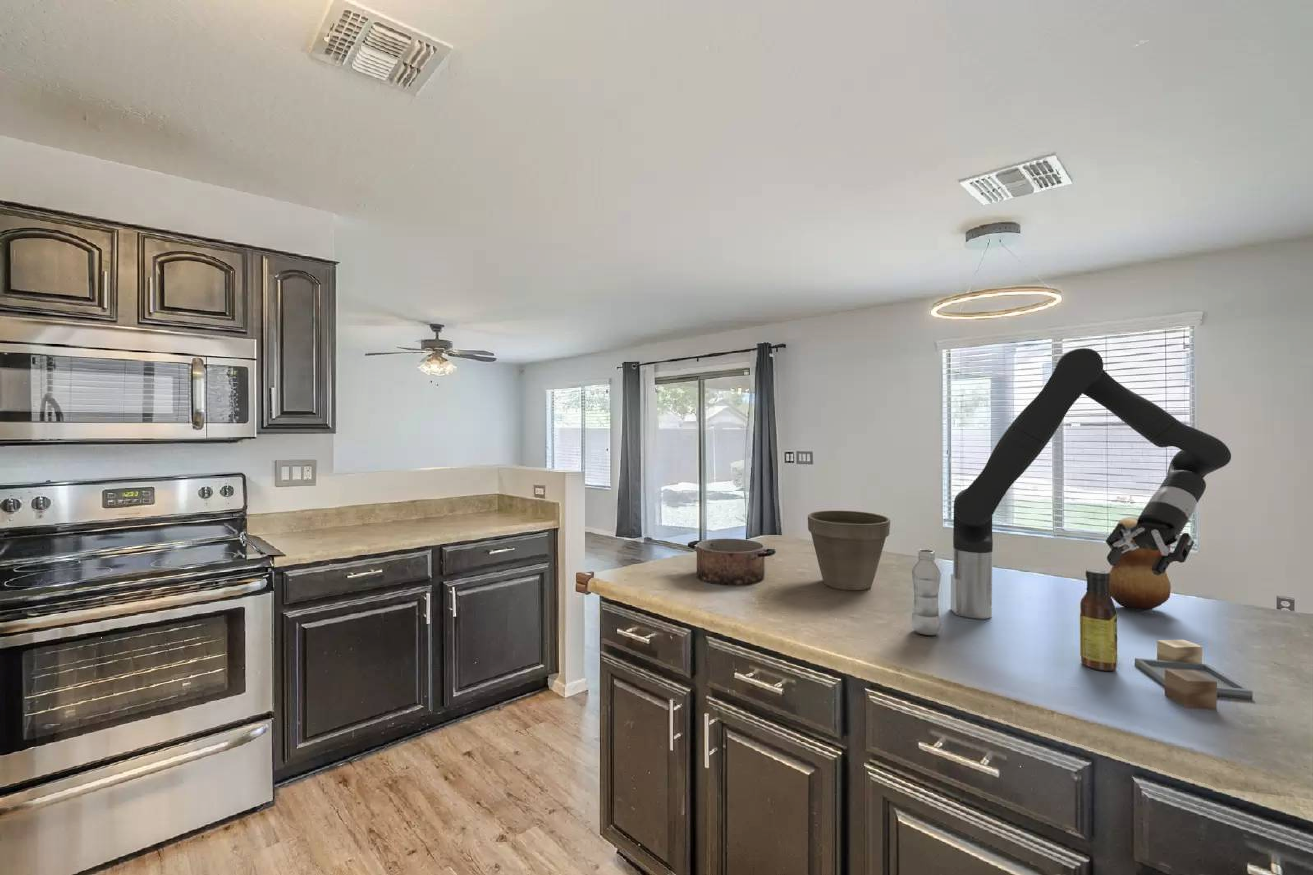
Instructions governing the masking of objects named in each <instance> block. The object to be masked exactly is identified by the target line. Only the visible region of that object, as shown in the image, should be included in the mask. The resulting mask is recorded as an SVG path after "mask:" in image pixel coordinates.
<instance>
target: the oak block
mask: <svg viewBox="0 0 1313 875" xmlns="http://www.w3.org/2000/svg"><path fill="white" fill-rule="evenodd" d="M1156 641H1157V642H1156V643H1157V644H1156V645H1157V646H1156V660H1163V661H1175V662H1187V663H1200V664H1203V646H1202V645H1199V644H1197V643H1194V642H1191V641H1188V640H1186V639H1161V640H1160V639H1157V640H1156Z"/></svg>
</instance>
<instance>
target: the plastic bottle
mask: <svg viewBox="0 0 1313 875" xmlns="http://www.w3.org/2000/svg"><path fill="white" fill-rule="evenodd" d="M917 552H918V554H917V558H918V561H917V562H916V563H915V565H914V566H913V568H912V570H911V576H912V584H913V594H914V595H913V597H914V598H913V608H912V610H913V612H912V615H911V621H910V622H911V628H912V629H913V631H914V632H915V633H917V634H920V635H924V636H925V635H926V636H934V635H935V636H936V635H938V633H939V632H940V629H941V618H940V615H939V612H940V611H939V591H940V590H939V589H940V584H941V578H942V577H941V575H942V574H941V570H940V569H939V566H937V564H936V563H935V560H936V555H935V551H934V550H930V549H918V551H917Z"/></svg>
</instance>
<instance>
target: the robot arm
mask: <svg viewBox="0 0 1313 875" xmlns="http://www.w3.org/2000/svg"><path fill="white" fill-rule="evenodd" d="M1083 395H1084V396H1087V397H1088V398H1090V399H1091V400H1093V401H1095V402H1096V403H1097V404H1099V405H1101V406H1103V407H1104V408H1105V409H1106V410H1107V411H1109V412H1111V413H1112V414H1113V415H1115V417H1117V418H1118V419H1120V420H1121V421H1123V422H1124V424H1126V425H1127V426H1129V427H1130V428H1131V429H1132V430H1134V431H1135V432H1137V433H1138V434H1139V435H1140V436H1141V437H1143V438H1144V439H1146V440H1147V441H1148V442H1149V443H1151V444H1153V445H1155V446H1156V447H1158V448H1170V447H1174V448H1177V449H1179V451H1177V453H1176V454H1175V455H1174V456H1173V458H1172V459H1171V461H1170V463H1169V466H1168V469H1167V475H1166V477H1165V478H1164V480H1163V481H1162V483H1161V484H1160V486H1159V488H1158V489H1157V490H1156V491H1155V492H1154V493H1153V494H1152V496H1151V497H1150V498H1149V500H1148V502H1147V503H1146V505H1145V507H1144V508H1143V510H1142V511H1141V513H1140V515H1139V516H1138V517H1139V518H1138V521H1137V524H1136V525H1135V526H1134V527H1132V528H1130V527H1125V526H1124V525H1123V524H1122V523H1120V524H1118V523H1117V524H1118V525H1117V524H1116V525H1115V528H1114V529H1113V530H1112V532H1111V533H1110V534H1109V535H1108V537H1107V539H1106V540H1105V543H1106V544H1107V546H1108V547H1109V548H1110V551H1109V552H1108V554H1107V556H1106V560H1107V562H1108V563H1109V565H1110V566H1112V567H1113V566H1116V565H1117V563H1118V561H1119V560H1120V558H1121V557H1122V555H1123V554H1122V553H1124V552H1126V551H1128V550H1135V549H1137V548H1139V547H1140V548H1142V549H1150V550H1154V551H1156V550H1160V552H1161V554H1162V556H1158V558H1157V560H1156V561H1155V563H1154V564H1153V566H1152V568H1151V570H1152V572H1153V573H1154V574H1155V575H1160V574H1161V573H1162V574H1163V573H1164V572H1165V571H1166V570H1167V569H1168V567H1169V565H1170V564H1171V563H1174V562H1178V563H1181V564H1182V563H1185V562H1186V560H1187V558H1188V556H1189V554H1190V552H1191V550H1192V548H1193V546H1194V544H1195V541H1194V540H1193V537H1192V536H1191V535H1190V533H1188V532H1184V533H1182V531H1183V530H1184V528H1185V527H1186V525H1187V523H1188V522H1189V521H1190V519H1191V518H1192V516H1193V514H1194V511H1195V509H1196V507H1197V504H1198V503H1199V501H1200V499H1201V498H1202V496H1203V495H1204V493H1205V492H1206V491H1205V490H1206V488H1207V483H1206V480H1205V479H1204V478H1205V477H1206V475H1209V474H1211V473H1213V472H1215V471H1216V470H1219V469H1222V468H1223V467H1226V466H1227V465H1228V464H1229V463H1230V461H1232V460H1231V459H1232V453H1231V451H1230V449H1229V447H1228V446H1227V445H1226V444H1225V443H1224V442H1223V441H1222V440H1220V439H1219V438H1218V437H1215V436H1213V435H1211V434H1209V433H1206V432H1204V431H1202V430H1199V429H1197V428H1194V427H1192V426H1189V425H1186V424H1184V423H1182V422H1181V421H1180V420H1179V419H1177V418H1175V417H1174V416H1173V415H1172V414H1170V413H1169V412H1168V411H1166V410H1165V409H1163V408H1161V407H1160V406H1159V405H1157V404H1156V403H1153V402H1152V401H1151V400H1148V399H1147V398H1145V397H1143V396H1141V395H1139V394H1138V393H1135V392H1133V391H1132V390H1130V389H1128V388H1127V387H1125V386H1124V385H1122V384H1121V383H1119V382H1118V381H1117V380H1116V379H1114V378H1113V377H1112V376H1111V375H1110V374H1109V373H1107V371H1106V370H1104V360H1103V358H1102V356H1101V355H1100V353H1098V352H1097V351H1096V350H1094V349H1092V348H1089V347H1078V348H1073V349H1070V350H1069V351H1066V352H1065V353H1064V354H1063V355H1062V356H1061V357H1060V359H1058V361H1057V363H1056V365H1055V368H1054V371H1053V372H1052V374H1051V375H1050V376H1049V379H1048V380H1047V381H1046V383H1045V385H1044V386H1043V387H1042V389H1041V391H1039V393H1038V394H1037V395H1036V397H1035V398H1034V399H1032V401H1030V402H1029V404H1028V405H1026V407H1025V408H1024V409H1023V410H1022V411H1021V412H1020V413H1019V415H1017V417H1016V418H1015V419H1014V420H1013V421H1012V422H1011V423H1010V425H1009V427H1008V428H1007V429H1006V430H1005V431H1004V433H1003V434H1002V435H1001V437H1000V438H999V440H998V442H997V444H996V445H995V446H994V449H993V450H992V452H991V454H990V456H989V458H988V460H987V462H986V464H985V466H984V467H983V469H982V471H981V472H980V473H979V474H978V476H977V477H976V478H975V479H974V480H973V481H972V482H971V484H969V486H968V487H967V488H966V489H963V490H961V491H960V492H958V494H956V496H955V497H954V500H953V527H952V528H953V532H952V536H953V538H952V539H953V540H952V544H953V546H952V549H953V550H952V552H953V553H952V557H953V558H952V560H953V561H952V573H951V574H950V610H951V611H952V612H953V613H954V615H955V616H960V617H965V618H969V619H979V620H983V619H989V618H992V616H993V614H992V613H993V556H994V554H993V549H994V548H993V546H994V542H993V539H994V538H993V514H994V513H995V512H996V510H997V508H998V506H999V505H1000V503H1001V502H1002V499H1003V498H1004V497H1005V495H1006V494H1007V492H1008V490H1009V489H1010V488H1011V486H1012V485H1013V484H1014V483H1015V482H1016V481H1017V480H1018V478H1019V479H1020V477H1021V475H1022V474H1023V473H1025V471H1027V469H1028V468H1029V467H1030V466H1031V464H1032V463H1033V462H1034V461H1035V460H1036V459H1037V457H1039V455H1040V454H1041V452H1042V451H1043V450H1044V449H1045V447H1046V446H1047V445H1048V443H1050V441H1051V439H1052V438H1053V437H1054V435H1055V433H1056V431H1057V430H1058V428H1059V427H1060V425H1061V424H1062V421H1063V420H1064V418H1065V416H1066V415H1067V413H1068V412H1069V410H1070V408H1072V406H1073V405H1074V404H1075V402H1077V400H1078V399H1079V398H1080V397H1081V396H1083ZM1132 539H1133V540H1134V542H1135V543H1133V544H1131V542H1130V541H1131V540H1132ZM1174 543H1177V544H1176V546H1175V548H1174V549H1173V551H1172V552H1171V549H1170V550H1169V548H1168V546H1169V545H1170V546H1171V545H1172V544H1174ZM1125 544H1126V545H1125ZM1123 545H1125V546H1123ZM1121 546H1123V547H1121Z"/></svg>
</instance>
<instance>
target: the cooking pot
mask: <svg viewBox="0 0 1313 875" xmlns="http://www.w3.org/2000/svg"><path fill="white" fill-rule="evenodd" d="M687 547H688V548H690V549H692V550H694V551H695V553H696V576H697V579H699V580H700V581H703V582H705V583H709V584H713V585H719V586H732V587H733V586H734V587H735V586H737V587H738V586H739V587H740V586H750V585H754V584H758V583H760V582H762V581H763V580H764V578H765V568H766V567H765V565H766V564H765V563H766V562H765V560H766V559H765V557H771V556H773V555H775V554H776V549H775V548H765V544H763V543H761V542H759V541H755V540H750V539H742V538H711V539H705V540H693V541H689V542H688V543H687Z"/></svg>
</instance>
